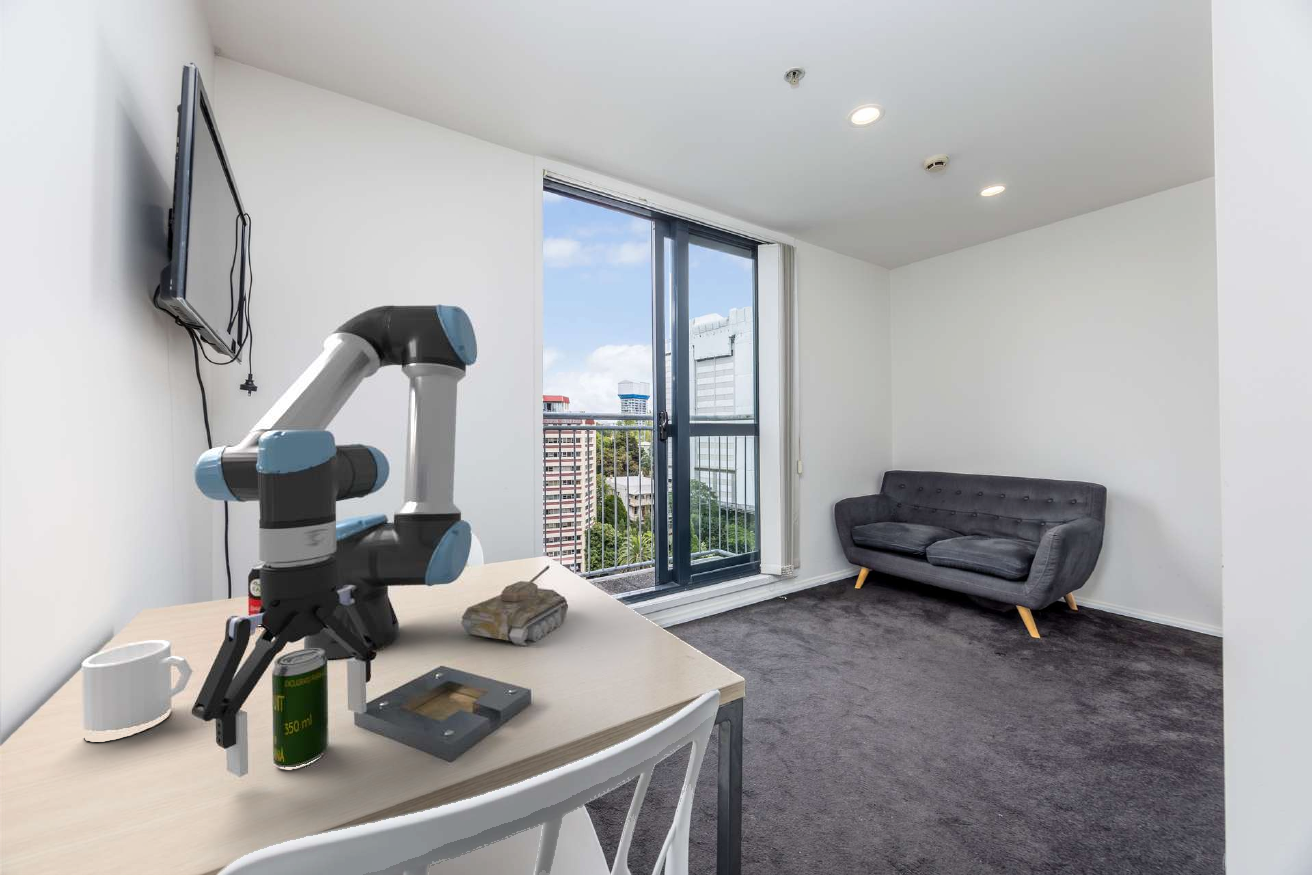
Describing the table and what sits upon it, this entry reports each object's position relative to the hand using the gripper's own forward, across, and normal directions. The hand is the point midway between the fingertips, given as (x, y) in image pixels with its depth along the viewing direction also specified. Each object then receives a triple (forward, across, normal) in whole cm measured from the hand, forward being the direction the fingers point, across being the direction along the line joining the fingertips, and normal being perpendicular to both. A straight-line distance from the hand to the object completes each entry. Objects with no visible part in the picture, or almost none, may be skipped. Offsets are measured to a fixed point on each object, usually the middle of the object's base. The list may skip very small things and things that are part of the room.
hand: (303, 738), depth 60 cm
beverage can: (+3, +23, +55) cm, 60 cm away
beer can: (+2, 0, 0) cm, 2 cm away
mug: (+2, -5, +27) cm, 28 cm away
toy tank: (+3, +44, +4) cm, 44 cm away
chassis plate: (+2, +14, -8) cm, 16 cm away
